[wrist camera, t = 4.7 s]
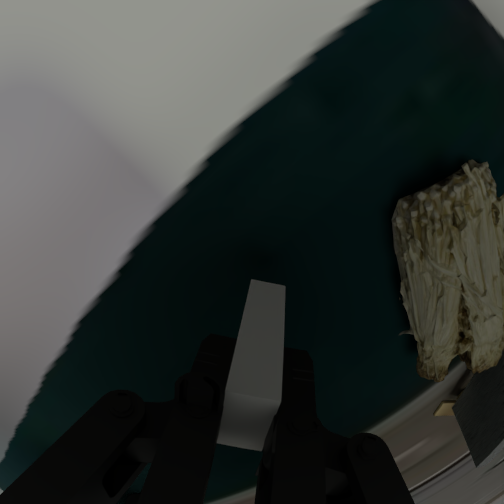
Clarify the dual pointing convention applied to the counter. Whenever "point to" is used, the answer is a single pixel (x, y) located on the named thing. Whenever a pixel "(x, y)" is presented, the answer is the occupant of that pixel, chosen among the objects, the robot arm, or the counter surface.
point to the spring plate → (483, 413)
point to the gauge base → (445, 408)
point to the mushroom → (453, 270)
